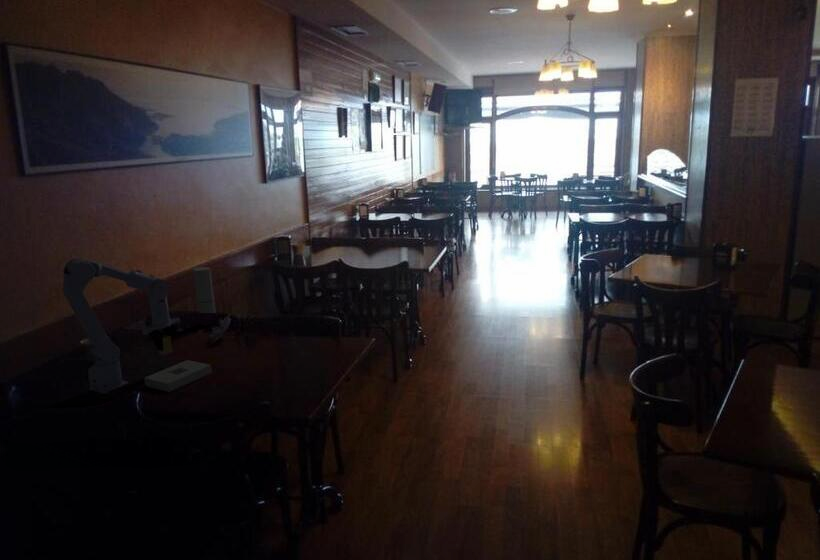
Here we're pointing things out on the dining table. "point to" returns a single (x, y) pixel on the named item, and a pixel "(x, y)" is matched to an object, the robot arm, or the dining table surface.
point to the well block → (178, 375)
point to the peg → (166, 345)
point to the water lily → (219, 331)
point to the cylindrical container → (204, 290)
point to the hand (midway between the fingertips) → (164, 348)
